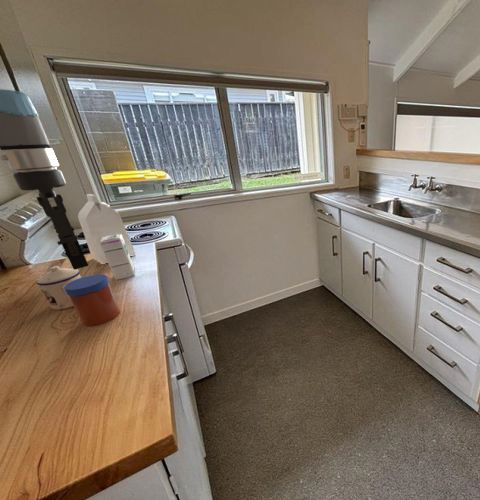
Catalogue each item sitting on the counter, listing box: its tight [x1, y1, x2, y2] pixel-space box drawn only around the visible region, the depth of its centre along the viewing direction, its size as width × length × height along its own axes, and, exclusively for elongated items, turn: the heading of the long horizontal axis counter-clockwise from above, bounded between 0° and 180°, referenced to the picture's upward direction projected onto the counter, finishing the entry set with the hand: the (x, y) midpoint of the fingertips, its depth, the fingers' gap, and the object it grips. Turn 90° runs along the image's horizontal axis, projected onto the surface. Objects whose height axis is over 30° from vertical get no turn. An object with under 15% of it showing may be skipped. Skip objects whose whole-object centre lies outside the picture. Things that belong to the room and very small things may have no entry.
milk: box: [77, 193, 137, 265], centre depth 113 cm, size 12×12×26 cm
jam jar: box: [70, 283, 121, 327], centre depth 75 cm, size 8×8×10 cm
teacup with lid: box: [36, 265, 82, 311], centre depth 82 cm, size 12×9×12 cm
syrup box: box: [99, 234, 136, 281], centre depth 98 cm, size 6×6×14 cm
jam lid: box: [64, 273, 110, 296], centre depth 73 cm, size 8×8×2 cm
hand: (78, 262), depth 71 cm, fingers open, 10 cm apart
